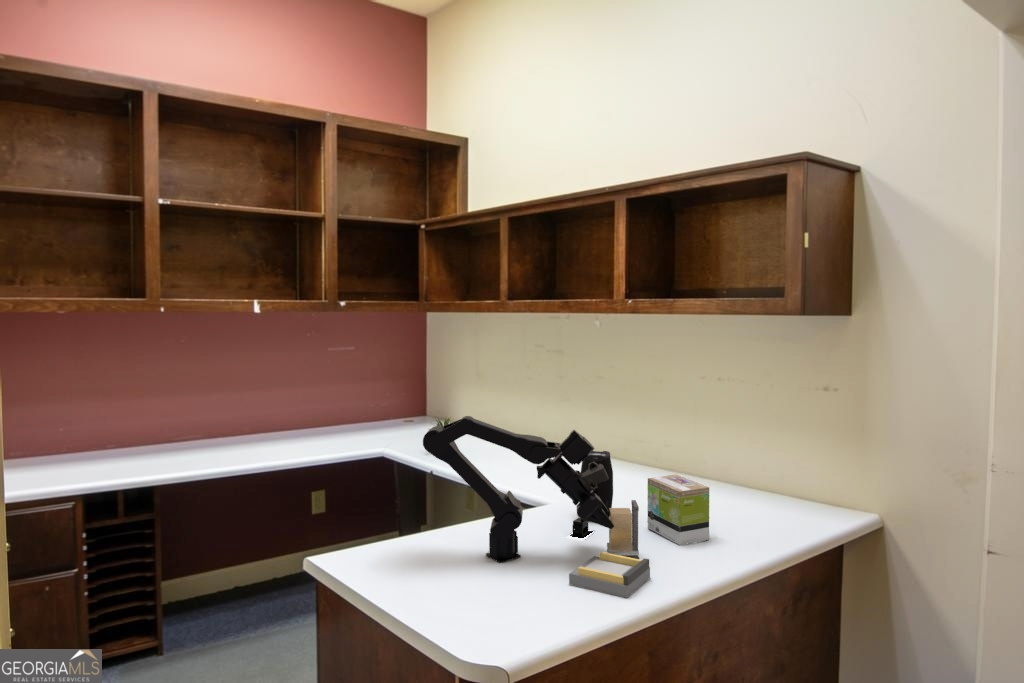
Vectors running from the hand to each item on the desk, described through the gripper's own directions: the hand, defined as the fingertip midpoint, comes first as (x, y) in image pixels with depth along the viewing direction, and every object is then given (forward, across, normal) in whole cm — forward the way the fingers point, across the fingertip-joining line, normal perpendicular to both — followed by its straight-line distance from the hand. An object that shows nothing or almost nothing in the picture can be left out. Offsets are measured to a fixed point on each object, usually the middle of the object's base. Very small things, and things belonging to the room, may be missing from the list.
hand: (611, 521), depth 173 cm
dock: (+5, -15, +8) cm, 17 cm away
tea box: (+21, +18, -7) cm, 28 cm away
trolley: (+8, 0, +5) cm, 9 cm away
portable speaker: (+6, +32, +8) cm, 33 cm away
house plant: (-36, +119, +48) cm, 133 cm away
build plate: (+2, +18, +12) cm, 21 cm away
